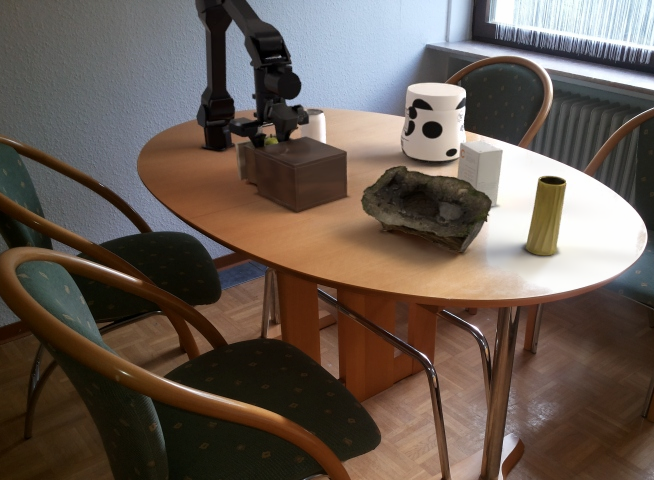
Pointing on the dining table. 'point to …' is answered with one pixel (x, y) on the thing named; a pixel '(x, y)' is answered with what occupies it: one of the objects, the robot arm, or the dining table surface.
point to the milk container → (433, 122)
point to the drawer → (247, 159)
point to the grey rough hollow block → (428, 206)
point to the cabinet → (301, 173)
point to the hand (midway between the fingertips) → (272, 158)
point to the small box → (481, 167)
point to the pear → (270, 140)
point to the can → (315, 126)
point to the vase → (546, 215)
